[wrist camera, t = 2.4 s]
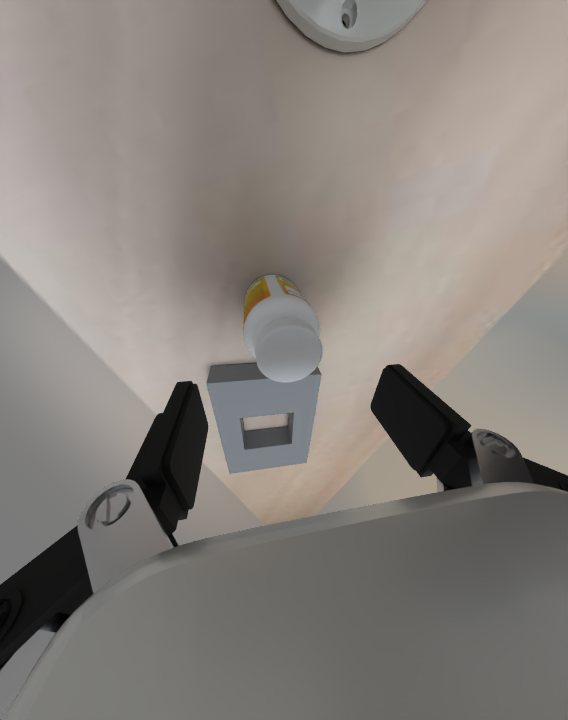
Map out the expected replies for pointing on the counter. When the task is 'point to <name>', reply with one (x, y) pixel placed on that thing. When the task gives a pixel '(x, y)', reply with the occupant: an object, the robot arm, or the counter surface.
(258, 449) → the socket block
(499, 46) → the counter surface
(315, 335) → the supplement bottle
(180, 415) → the robot arm
